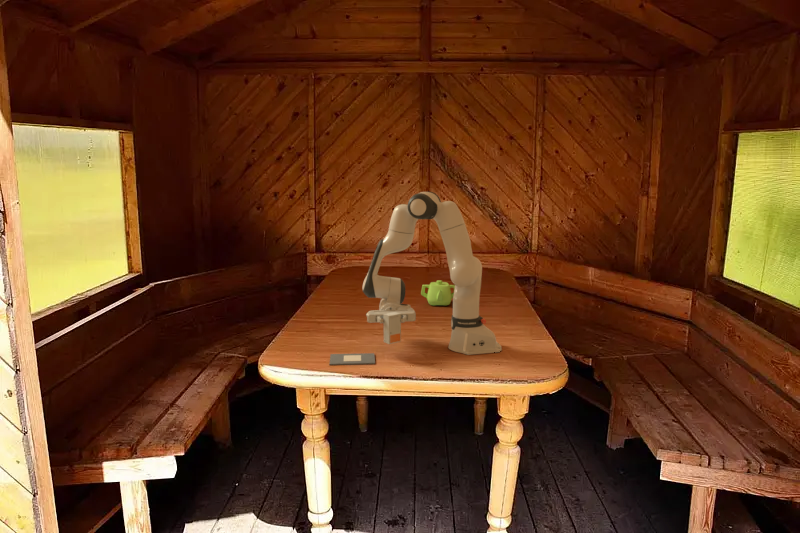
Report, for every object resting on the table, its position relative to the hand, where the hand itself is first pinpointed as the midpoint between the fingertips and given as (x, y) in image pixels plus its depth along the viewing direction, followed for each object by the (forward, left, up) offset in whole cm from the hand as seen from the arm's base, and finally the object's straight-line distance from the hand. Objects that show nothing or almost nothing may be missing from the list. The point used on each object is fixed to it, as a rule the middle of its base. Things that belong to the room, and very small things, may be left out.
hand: (392, 321), depth 260 cm
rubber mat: (+16, +2, -15) cm, 22 cm away
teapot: (-31, -87, -16) cm, 94 cm away
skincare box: (0, -1, -9) cm, 9 cm away
